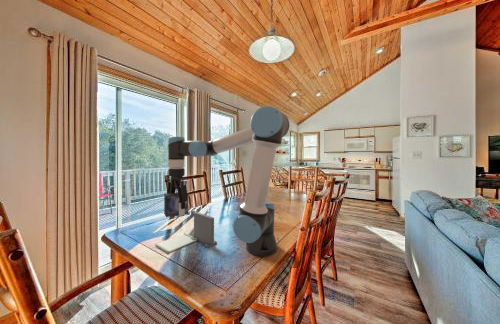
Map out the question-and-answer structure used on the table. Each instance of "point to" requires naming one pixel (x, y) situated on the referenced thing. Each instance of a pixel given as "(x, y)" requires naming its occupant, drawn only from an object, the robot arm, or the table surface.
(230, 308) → the table surface
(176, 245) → the pad
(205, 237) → the screen
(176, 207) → the small box
